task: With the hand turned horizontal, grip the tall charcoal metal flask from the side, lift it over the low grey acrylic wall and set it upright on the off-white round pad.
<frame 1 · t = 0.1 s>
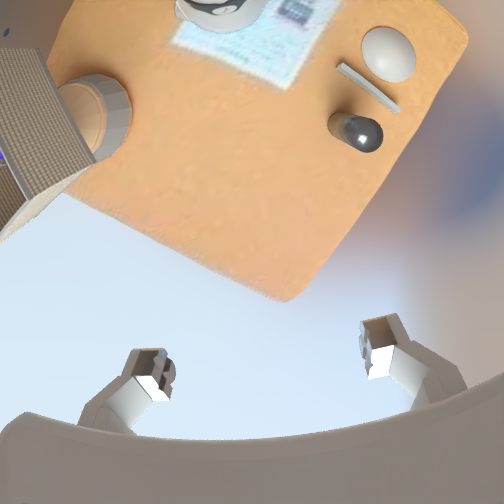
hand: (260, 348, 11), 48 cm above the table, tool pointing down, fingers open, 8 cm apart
resting pad: (389, 54, 42), on the table
acrylic wall: (366, 88, 46), on the table
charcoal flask: (340, 125, 50), on the table
desk lamp: (97, 117, 50), on the table
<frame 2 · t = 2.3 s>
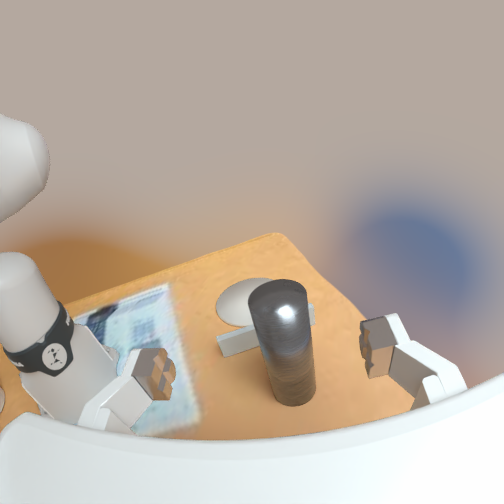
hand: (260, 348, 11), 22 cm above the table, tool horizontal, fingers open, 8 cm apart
resting pad: (251, 301, 49), on the table
acrylic wall: (269, 339, 41), on the table
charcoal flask: (294, 388, 33), on the table
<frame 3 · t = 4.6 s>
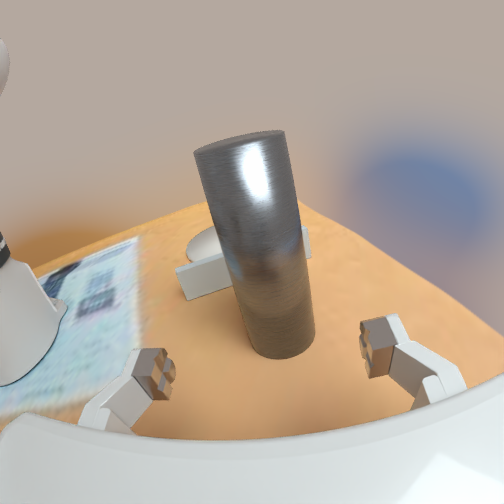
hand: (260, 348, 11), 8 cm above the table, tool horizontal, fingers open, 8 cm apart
resting pad: (230, 241, 39), on the table
acrylic wall: (249, 276, 31), on the table
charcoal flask: (282, 334, 23), on the table
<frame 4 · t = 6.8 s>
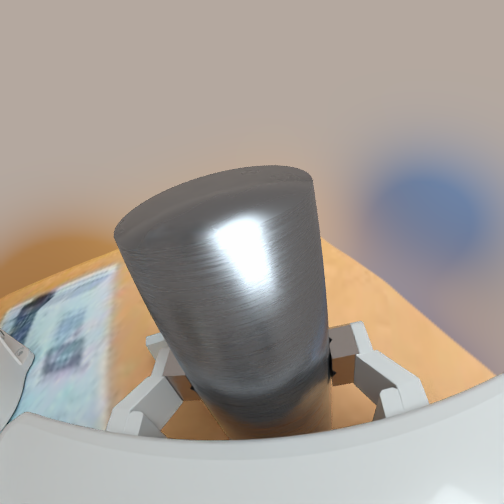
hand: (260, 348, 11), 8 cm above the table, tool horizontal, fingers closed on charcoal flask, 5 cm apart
acrylic wall: (245, 344, 23), on the table
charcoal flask: (287, 443, 14), on the table, touching gripper
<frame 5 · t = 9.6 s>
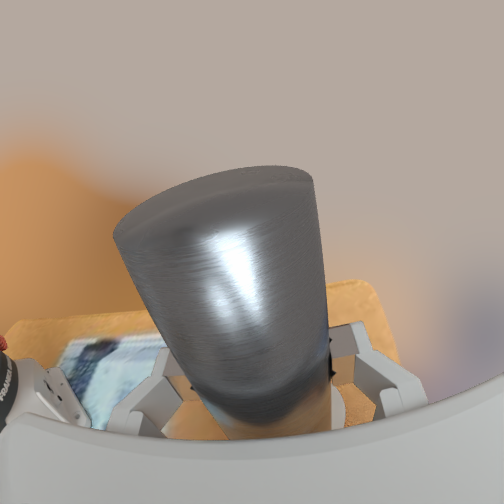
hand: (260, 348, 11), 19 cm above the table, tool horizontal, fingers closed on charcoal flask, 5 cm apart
resting pad: (286, 417, 26), on the table
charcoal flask: (287, 444, 14), point 11 cm above the table, touching gripper
when the fingers open (10 cm above the table, at t = 12.3 s): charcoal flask drops 1 cm, resting on resting pad.
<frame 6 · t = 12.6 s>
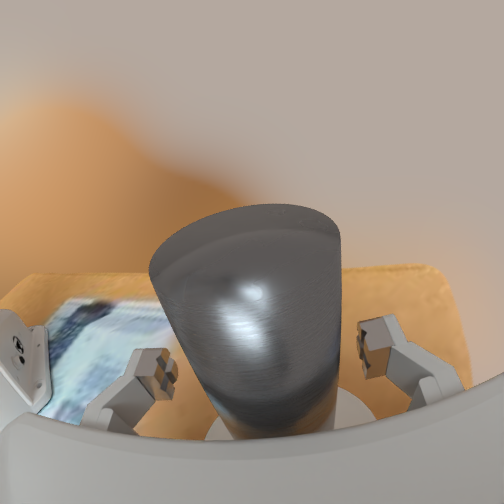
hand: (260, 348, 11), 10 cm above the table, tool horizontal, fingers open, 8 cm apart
resting pad: (290, 454, 15), on the table
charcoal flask: (290, 451, 15), point 1 cm above the table, touching resting pad
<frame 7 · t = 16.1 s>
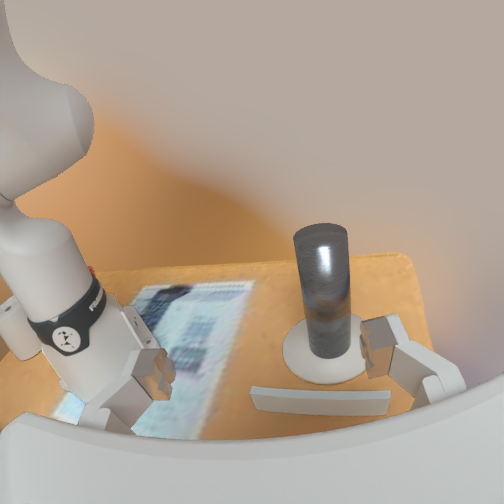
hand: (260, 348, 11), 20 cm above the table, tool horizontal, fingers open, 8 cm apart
toilet tissue: (33, 343, 47), on the table
resting pad: (330, 346, 35), on the table
acrylic wall: (320, 411, 27), on the table
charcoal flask: (330, 343, 34), point 1 cm above the table, touching resting pad
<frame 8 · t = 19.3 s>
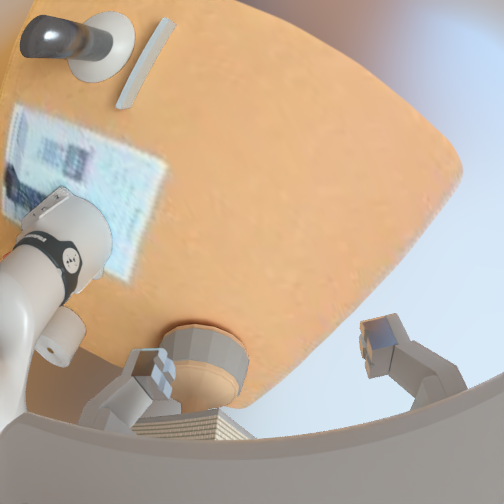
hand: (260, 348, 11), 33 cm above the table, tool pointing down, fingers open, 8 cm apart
toilet tissue: (66, 321, 58), on the table
resting pad: (100, 46, 30), on the table
acrylic wall: (149, 64, 33), on the table
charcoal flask: (98, 45, 30), point 1 cm above the table, touching resting pad
desk lamp: (205, 348, 59), on the table
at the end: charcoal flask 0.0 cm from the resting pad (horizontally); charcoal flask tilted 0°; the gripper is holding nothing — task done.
